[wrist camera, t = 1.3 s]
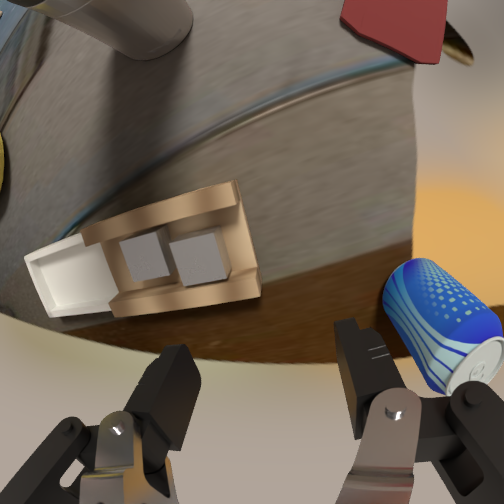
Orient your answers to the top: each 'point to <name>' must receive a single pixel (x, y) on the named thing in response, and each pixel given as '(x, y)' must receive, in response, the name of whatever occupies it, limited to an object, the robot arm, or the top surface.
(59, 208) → the top surface
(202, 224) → the slot board
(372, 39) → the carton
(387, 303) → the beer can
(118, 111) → the top surface
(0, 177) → the vase
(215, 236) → the chip
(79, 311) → the tray
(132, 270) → the chip
